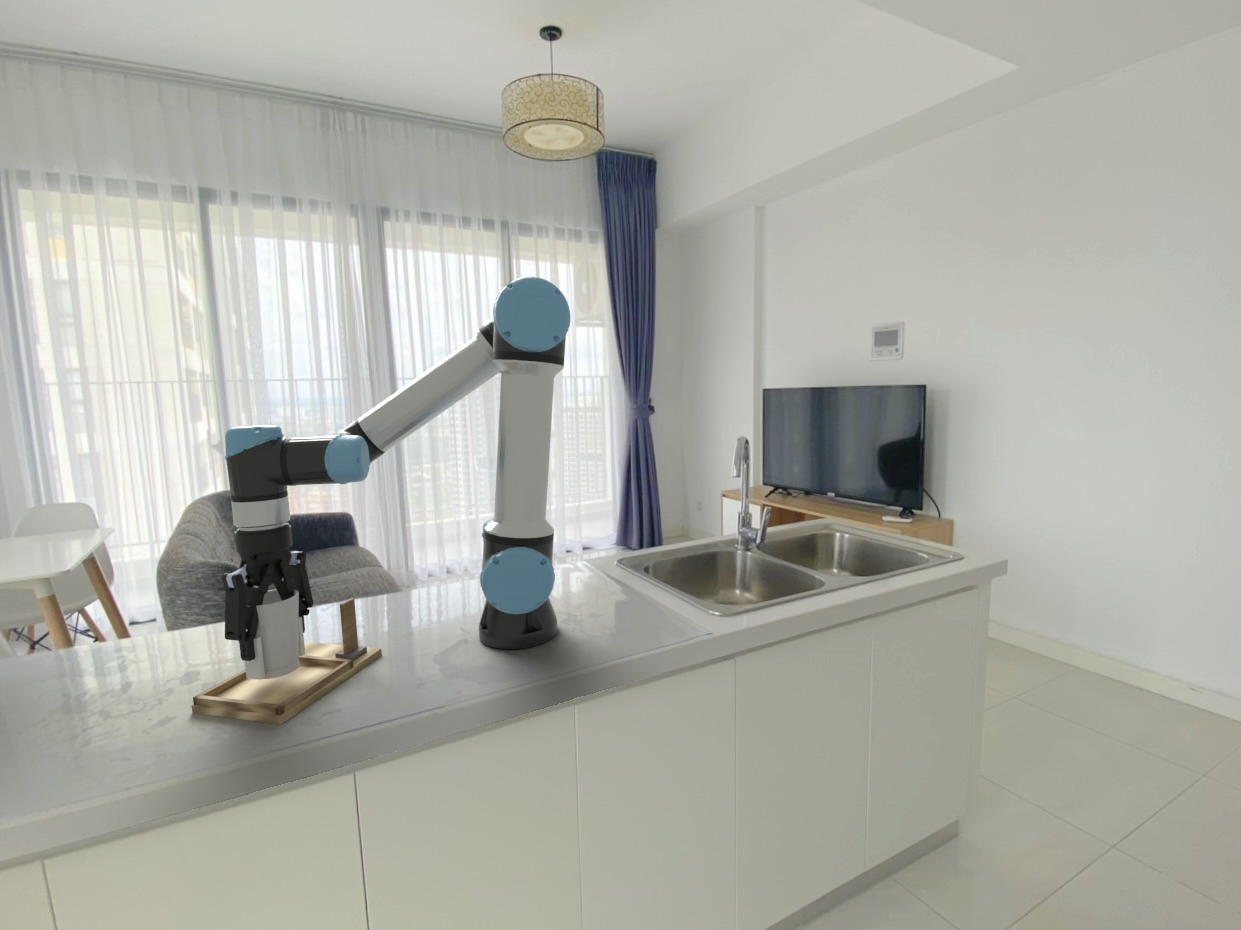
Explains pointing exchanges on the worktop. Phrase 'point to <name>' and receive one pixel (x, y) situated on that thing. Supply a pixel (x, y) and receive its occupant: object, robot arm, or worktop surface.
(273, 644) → the cup
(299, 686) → the board
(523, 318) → the robot arm
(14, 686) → the worktop surface
